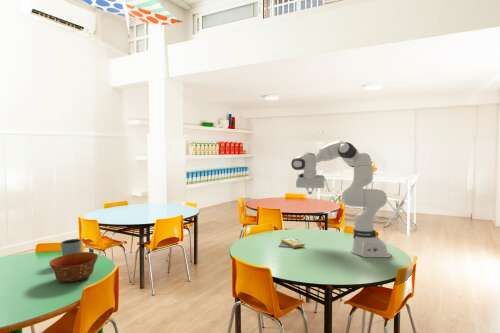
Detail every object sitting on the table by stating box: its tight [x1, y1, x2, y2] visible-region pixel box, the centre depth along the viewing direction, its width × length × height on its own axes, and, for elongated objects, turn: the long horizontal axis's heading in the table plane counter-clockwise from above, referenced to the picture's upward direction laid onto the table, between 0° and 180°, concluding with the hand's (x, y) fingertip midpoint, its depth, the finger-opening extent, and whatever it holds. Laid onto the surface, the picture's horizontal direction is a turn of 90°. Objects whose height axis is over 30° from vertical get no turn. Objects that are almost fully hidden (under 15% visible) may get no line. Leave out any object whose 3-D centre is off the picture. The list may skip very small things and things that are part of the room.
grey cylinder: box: [60, 238, 82, 256], centre depth 183 cm, size 10×10×12 cm
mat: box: [278, 238, 298, 249], centre depth 221 cm, size 10×20×1 cm, turn 166°
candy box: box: [280, 237, 306, 249], centre depth 217 cm, size 16×2×8 cm
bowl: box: [48, 251, 99, 283], centre depth 159 cm, size 21×21×10 cm
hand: (310, 194), depth 237 cm, fingers closed
